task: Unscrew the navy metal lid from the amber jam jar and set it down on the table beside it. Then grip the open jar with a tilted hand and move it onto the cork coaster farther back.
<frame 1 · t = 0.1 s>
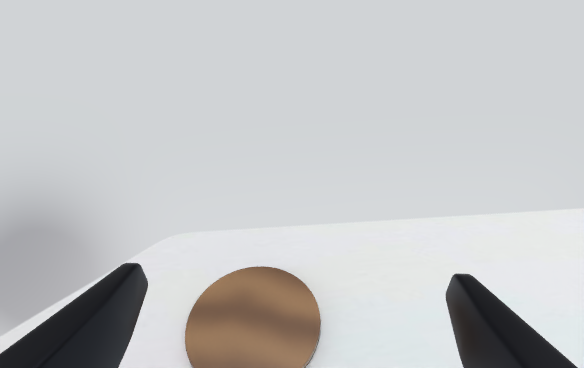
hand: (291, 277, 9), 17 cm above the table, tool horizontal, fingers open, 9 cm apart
coaster: (254, 322, 25), on the table
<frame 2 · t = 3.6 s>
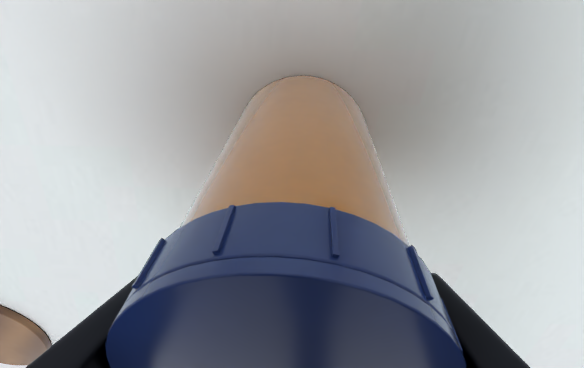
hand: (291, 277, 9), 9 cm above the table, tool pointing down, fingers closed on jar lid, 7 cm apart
jar: (301, 140, 16), on the table
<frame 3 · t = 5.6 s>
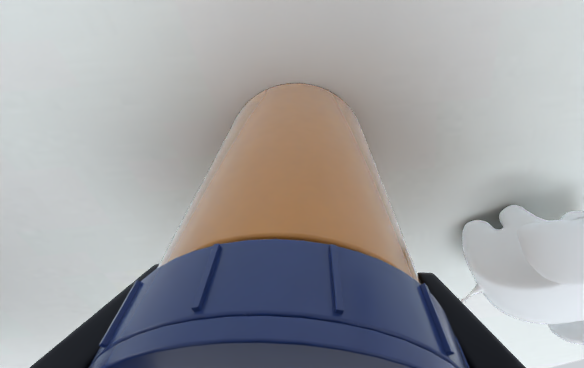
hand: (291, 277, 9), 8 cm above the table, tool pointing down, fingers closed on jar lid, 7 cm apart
elephant figurine: (502, 222, 18), on the table
jar: (296, 150, 16), on the table, touching gripper
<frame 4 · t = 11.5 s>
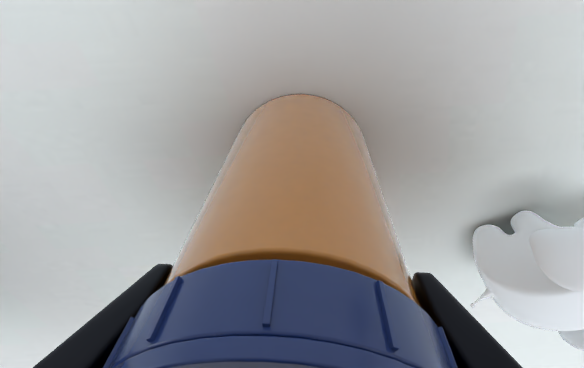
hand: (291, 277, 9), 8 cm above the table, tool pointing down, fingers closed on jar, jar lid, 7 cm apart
elephant figurine: (513, 228, 18), on the table
jar: (300, 158, 16), on the table, touching gripper
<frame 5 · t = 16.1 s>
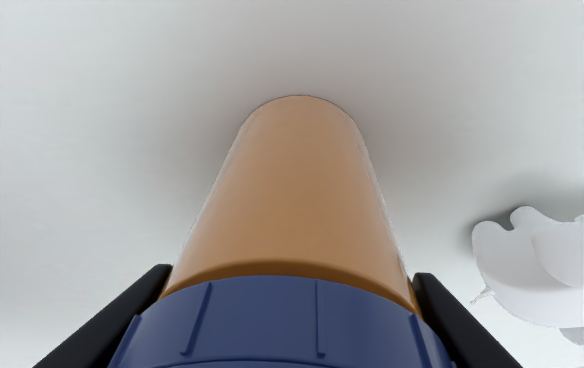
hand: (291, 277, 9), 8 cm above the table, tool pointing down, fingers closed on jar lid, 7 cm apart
elephant figurine: (513, 224, 18), on the table
jar: (299, 159, 16), on the table, touching gripper
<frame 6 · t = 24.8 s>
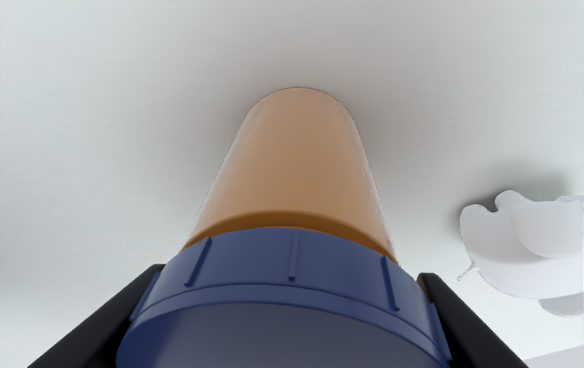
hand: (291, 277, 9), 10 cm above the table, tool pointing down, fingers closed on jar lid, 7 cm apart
elephant figurine: (498, 207, 19), on the table
jar: (298, 147, 17), on the table
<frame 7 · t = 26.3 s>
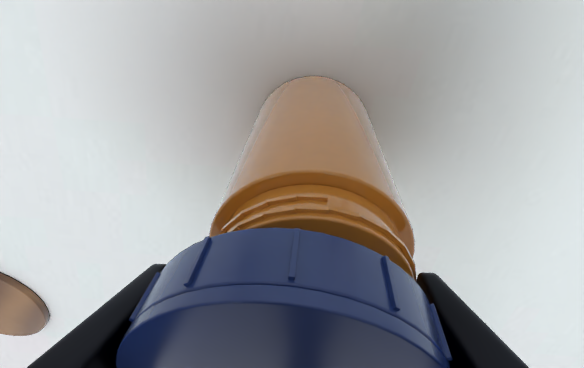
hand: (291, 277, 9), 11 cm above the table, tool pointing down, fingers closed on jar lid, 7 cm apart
jar: (312, 133, 18), on the table, touching gripper
when the fingers open (7 cm above the table, at t = 48.0 s): jar lid stays where it is, point 1 cm above the table.
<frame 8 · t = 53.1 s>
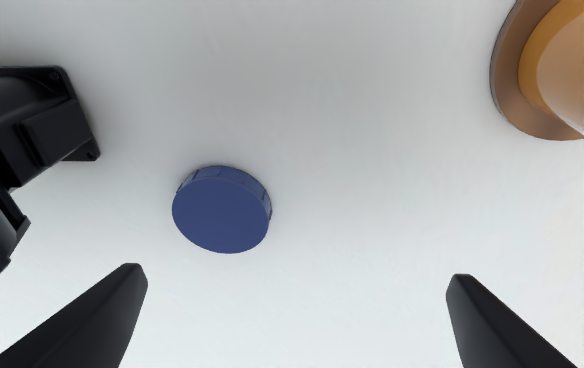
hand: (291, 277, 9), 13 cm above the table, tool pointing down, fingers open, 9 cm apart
jar lid: (221, 216, 23), point 1 cm above the table, off its thread
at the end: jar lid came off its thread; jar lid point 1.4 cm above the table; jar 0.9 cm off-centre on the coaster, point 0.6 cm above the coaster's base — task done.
